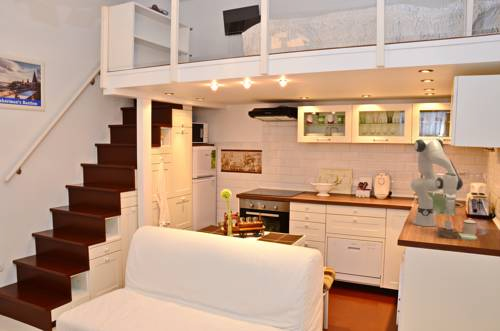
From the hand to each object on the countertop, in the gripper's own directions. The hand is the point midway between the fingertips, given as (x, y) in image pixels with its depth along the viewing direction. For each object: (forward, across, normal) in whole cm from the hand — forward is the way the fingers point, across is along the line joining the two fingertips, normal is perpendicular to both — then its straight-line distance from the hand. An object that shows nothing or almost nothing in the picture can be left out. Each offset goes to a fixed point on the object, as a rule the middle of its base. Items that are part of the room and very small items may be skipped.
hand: (449, 214), depth 281 cm
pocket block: (+16, -1, 0) cm, 17 cm away
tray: (+17, -1, +13) cm, 21 cm away
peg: (+16, -1, 0) cm, 17 cm away
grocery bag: (+15, -101, 0) cm, 102 cm away
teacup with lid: (+16, -19, +15) cm, 29 cm away
